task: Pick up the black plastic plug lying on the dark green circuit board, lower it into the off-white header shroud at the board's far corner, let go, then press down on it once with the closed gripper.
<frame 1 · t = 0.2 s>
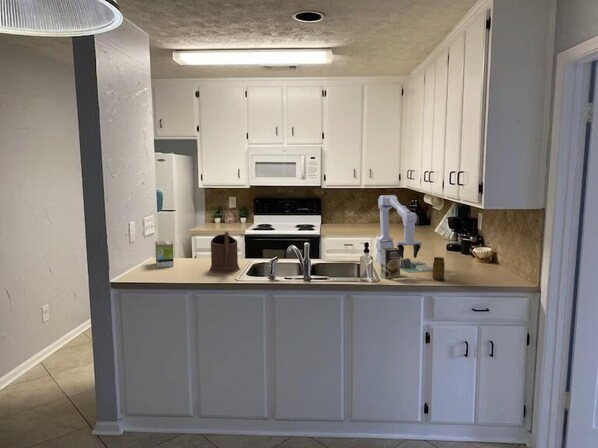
hand: (408, 257, 247), 10 cm above the countertop, tool pointing down, fingers open, 7 cm apart
plug: (405, 267, 263), point 1 cm above the countertop, touching board
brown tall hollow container: (225, 270, 262), on the countertop
condiment: (439, 279, 239), on the countertop
coffee box: (390, 277, 244), on the countertop
tea box: (164, 265, 278), on the countertop
grey knob block: (417, 267, 267), resting on board
board: (414, 270, 260), on the countertop
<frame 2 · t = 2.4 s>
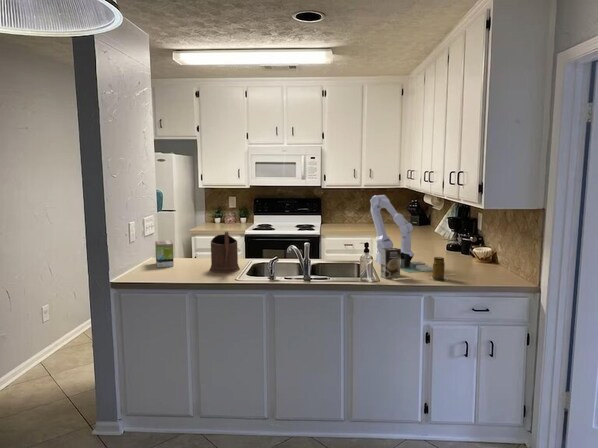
hand: (405, 265, 263), 2 cm above the countertop, tool pointing down, fingers closed on plug, 3 cm apart
plug: (405, 267, 263), point 1 cm above the countertop, touching board, gripper
everything else where it was.
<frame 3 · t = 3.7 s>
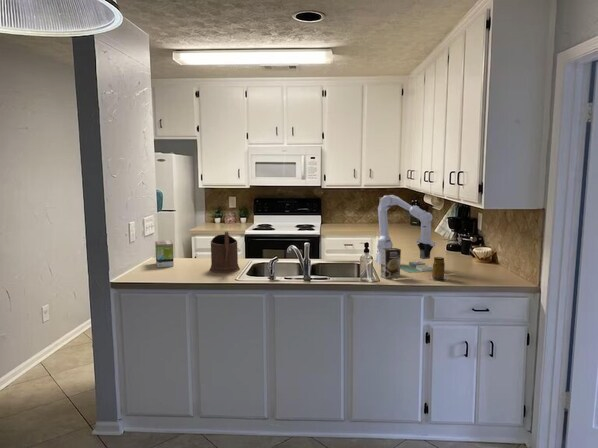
hand: (425, 256, 256), 9 cm above the countertop, tool pointing down, fingers closed on plug, 3 cm apart
plug: (424, 258, 257), point 8 cm above the countertop, touching gripper
everything else where it was.
when the fingers open (3 cm above the countertop, at t = 5.1 s): plug drops 1 cm, resting on board.
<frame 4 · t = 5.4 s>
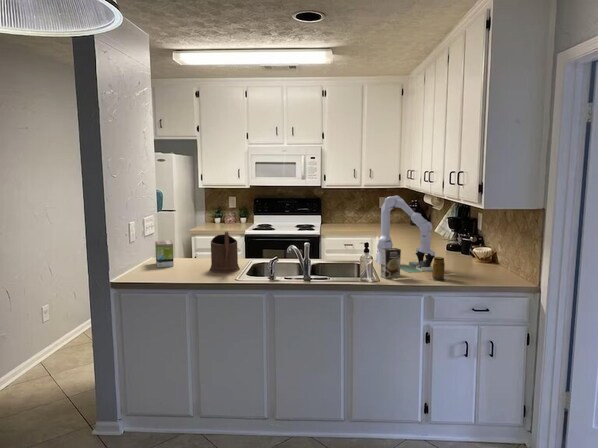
hand: (424, 265, 257), 3 cm above the countertop, tool pointing down, fingers open, 6 cm apart
plug: (424, 269, 257), point 1 cm above the countertop, touching board
everything else where it was.
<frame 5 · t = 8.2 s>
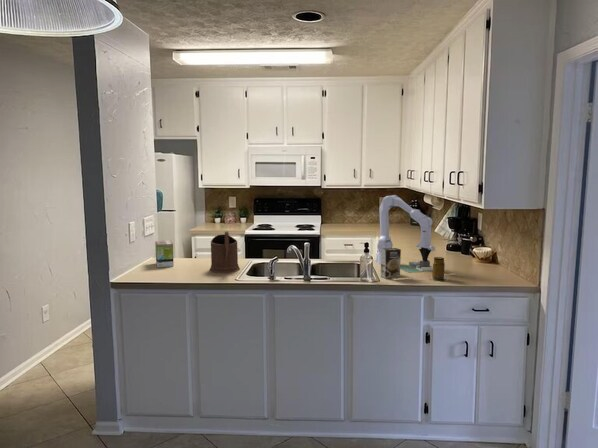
hand: (424, 260, 257), 6 cm above the countertop, tool pointing down, fingers closed
nothing on the countertop moved.
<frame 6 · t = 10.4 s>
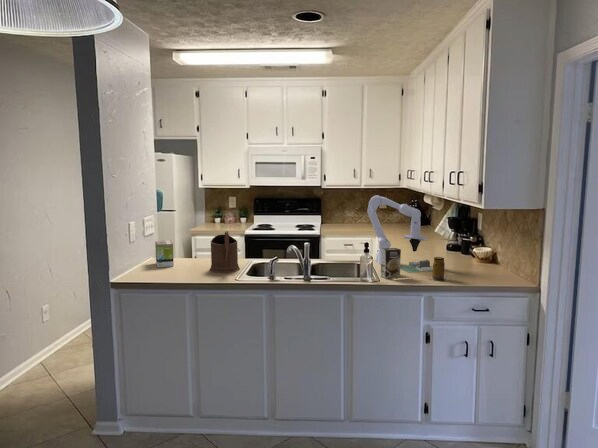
hand: (414, 251, 267), 10 cm above the countertop, tool pointing down, fingers closed
nothing on the countertop moved.
at the end: plug 0.0 cm from the target spot on the board, point 1.0 cm above the board's base; plug tilted 0°; the gripper is holding nothing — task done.
